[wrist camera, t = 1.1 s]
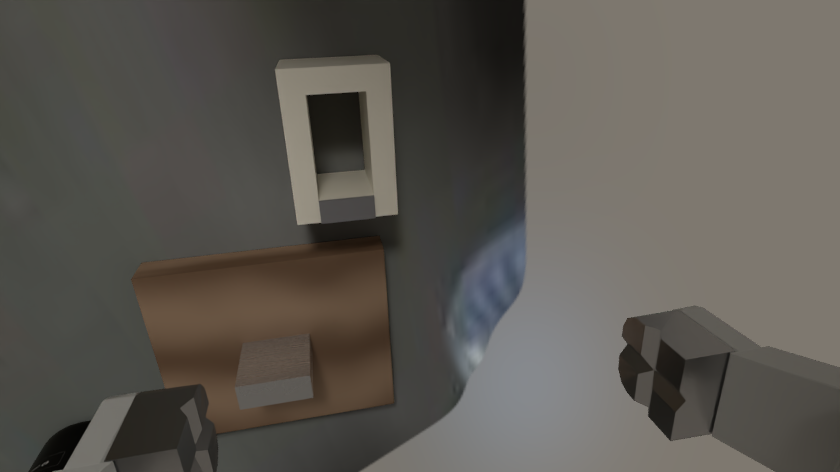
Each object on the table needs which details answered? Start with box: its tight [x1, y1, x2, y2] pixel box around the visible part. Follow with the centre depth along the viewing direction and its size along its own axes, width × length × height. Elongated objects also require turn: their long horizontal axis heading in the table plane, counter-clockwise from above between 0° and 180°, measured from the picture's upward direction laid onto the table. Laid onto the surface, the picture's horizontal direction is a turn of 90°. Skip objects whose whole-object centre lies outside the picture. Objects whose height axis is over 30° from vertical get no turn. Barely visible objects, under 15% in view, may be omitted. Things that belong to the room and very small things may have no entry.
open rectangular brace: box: [275, 55, 398, 225], centre depth 26 cm, size 8×5×5 cm
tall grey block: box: [235, 334, 313, 410], centre depth 30 cm, size 2×4×4 cm, turn 91°
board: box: [131, 236, 394, 434], centre depth 32 cm, size 12×14×2 cm
